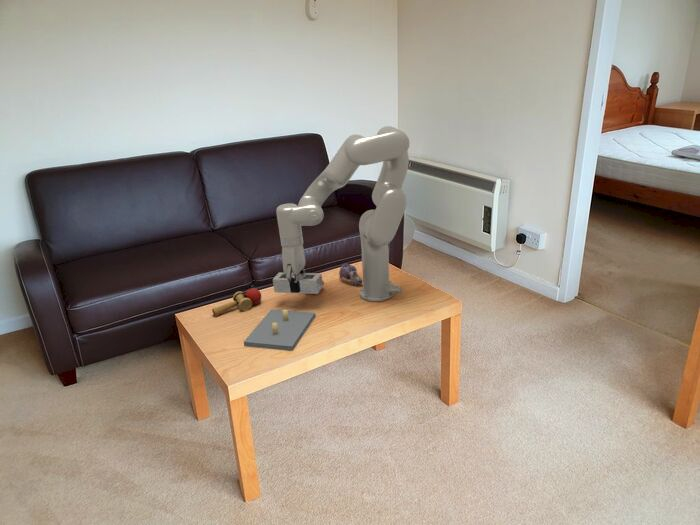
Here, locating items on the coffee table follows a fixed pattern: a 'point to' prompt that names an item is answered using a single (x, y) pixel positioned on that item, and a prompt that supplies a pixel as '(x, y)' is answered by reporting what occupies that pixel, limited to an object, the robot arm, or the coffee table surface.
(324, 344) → the coffee table surface
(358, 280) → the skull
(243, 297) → the kendama
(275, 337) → the pin board
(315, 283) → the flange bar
